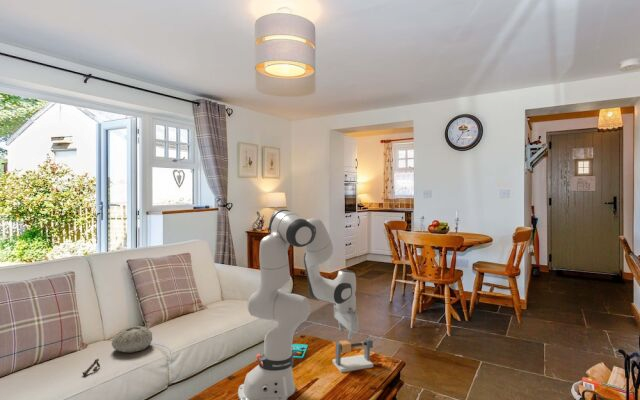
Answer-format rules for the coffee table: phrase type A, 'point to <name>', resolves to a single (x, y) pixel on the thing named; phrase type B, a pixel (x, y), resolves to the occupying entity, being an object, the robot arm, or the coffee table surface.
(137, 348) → the rock
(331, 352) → the coffee table surface
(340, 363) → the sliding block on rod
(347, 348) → the marker sleeve
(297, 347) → the handheld gaming console
